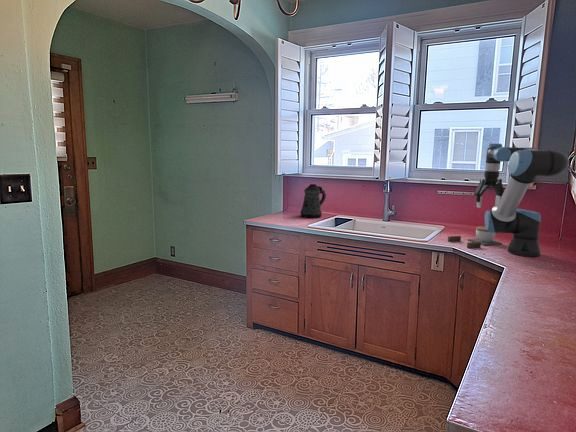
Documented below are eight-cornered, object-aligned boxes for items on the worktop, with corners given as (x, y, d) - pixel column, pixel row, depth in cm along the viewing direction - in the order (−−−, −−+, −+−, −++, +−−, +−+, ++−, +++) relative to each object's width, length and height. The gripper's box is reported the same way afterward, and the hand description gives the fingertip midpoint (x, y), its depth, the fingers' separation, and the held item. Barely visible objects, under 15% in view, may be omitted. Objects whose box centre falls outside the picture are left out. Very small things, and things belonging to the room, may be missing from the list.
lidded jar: (490, 239, 240) (492, 224, 238) (497, 243, 229) (499, 227, 228) (472, 238, 241) (473, 223, 239) (478, 242, 231) (480, 227, 229)
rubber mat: (501, 244, 231) (502, 243, 231) (484, 245, 227) (484, 244, 227) (484, 239, 243) (484, 237, 243) (467, 240, 239) (467, 239, 239)
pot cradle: (480, 247, 223) (480, 242, 222) (468, 248, 220) (469, 243, 220) (458, 240, 239) (459, 235, 238) (447, 241, 236) (448, 236, 236)
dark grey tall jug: (296, 216, 307) (296, 184, 303) (310, 213, 323) (311, 182, 318) (314, 219, 298) (315, 186, 293) (327, 216, 313) (328, 184, 308)
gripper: (503, 170, 235) (499, 205, 239) (469, 170, 228) (465, 206, 232) (514, 171, 228) (509, 207, 232) (479, 171, 221) (475, 208, 225)
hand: (487, 207), depth 232 cm, fingers open, 13 cm apart
